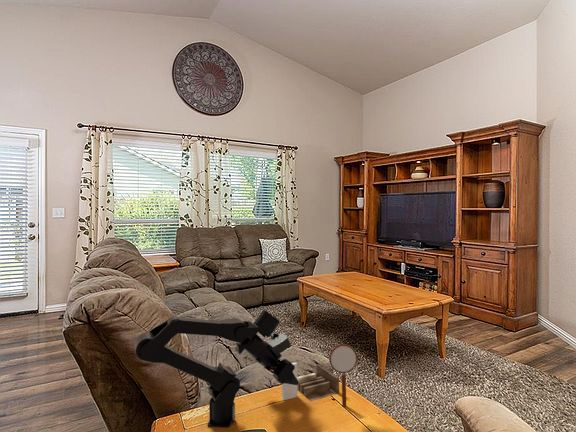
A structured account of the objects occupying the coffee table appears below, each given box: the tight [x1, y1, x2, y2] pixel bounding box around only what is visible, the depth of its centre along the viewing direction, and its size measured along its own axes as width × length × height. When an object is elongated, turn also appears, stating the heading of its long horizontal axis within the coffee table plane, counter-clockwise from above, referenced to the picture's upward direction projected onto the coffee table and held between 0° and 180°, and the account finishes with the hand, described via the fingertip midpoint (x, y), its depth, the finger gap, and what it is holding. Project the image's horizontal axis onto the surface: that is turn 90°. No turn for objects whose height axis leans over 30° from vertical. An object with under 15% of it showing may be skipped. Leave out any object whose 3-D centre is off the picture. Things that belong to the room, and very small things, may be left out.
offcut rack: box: [297, 363, 340, 402], centre depth 115 cm, size 11×13×6 cm
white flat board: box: [281, 362, 298, 401], centre depth 110 cm, size 5×1×12 cm, turn 116°
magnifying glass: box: [329, 343, 358, 408], centre depth 104 cm, size 9×2×20 cm, turn 94°
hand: (291, 378), depth 110 cm, fingers open, 9 cm apart
